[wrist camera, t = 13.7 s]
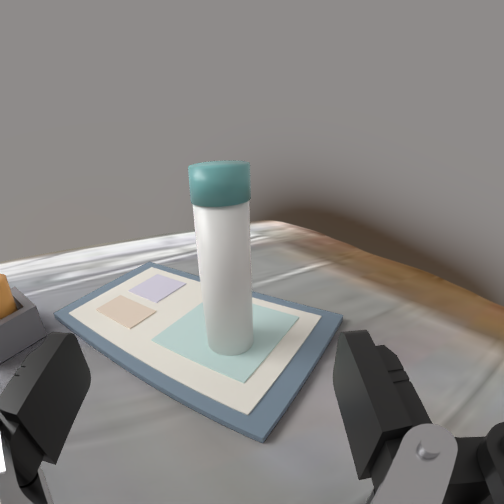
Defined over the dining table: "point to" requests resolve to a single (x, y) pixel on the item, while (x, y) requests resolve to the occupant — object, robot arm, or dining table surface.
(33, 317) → the button housing
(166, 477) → the dining table surface
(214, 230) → the marker
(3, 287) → the button
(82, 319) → the placemat
